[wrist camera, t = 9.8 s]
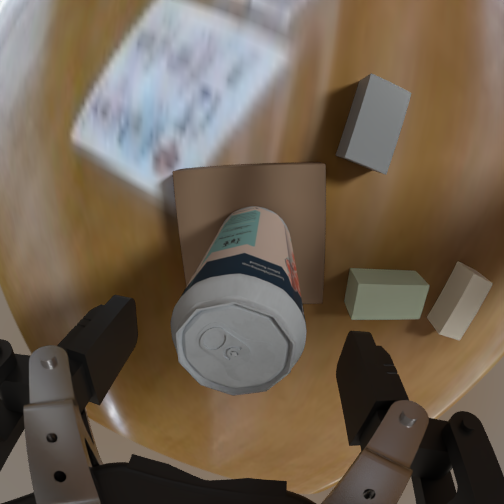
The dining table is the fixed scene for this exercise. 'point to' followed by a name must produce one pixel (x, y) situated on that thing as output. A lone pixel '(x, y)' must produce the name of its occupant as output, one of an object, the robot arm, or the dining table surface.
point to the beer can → (242, 307)
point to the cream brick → (459, 301)
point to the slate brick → (374, 123)
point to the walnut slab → (260, 195)
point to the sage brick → (385, 294)
